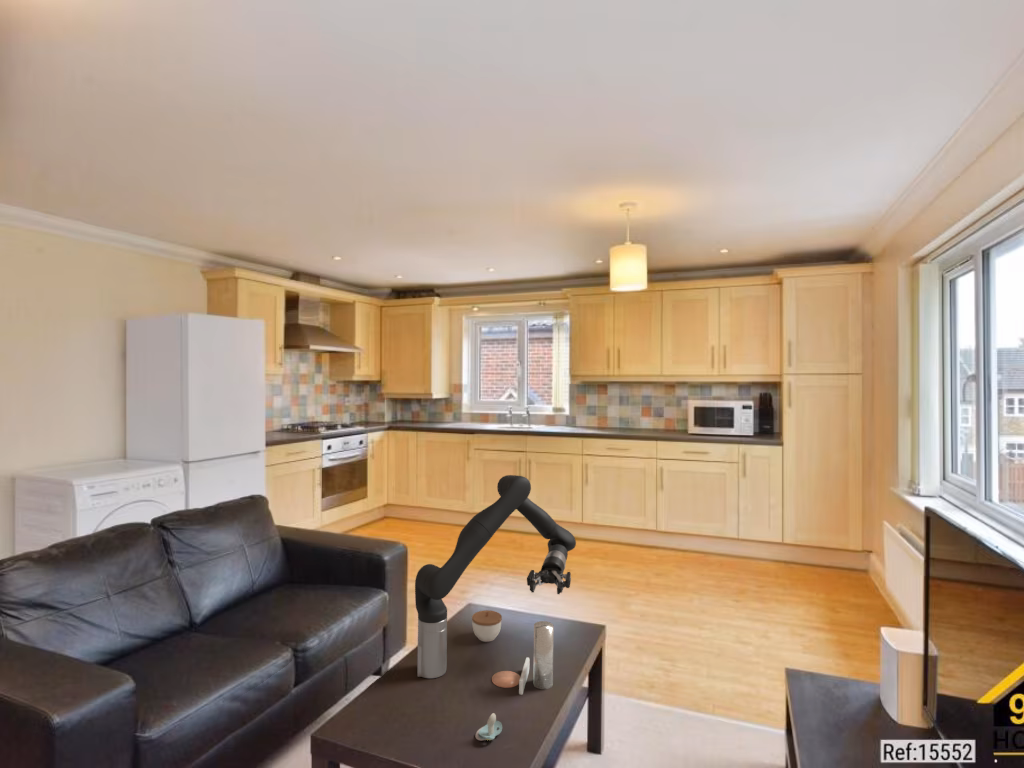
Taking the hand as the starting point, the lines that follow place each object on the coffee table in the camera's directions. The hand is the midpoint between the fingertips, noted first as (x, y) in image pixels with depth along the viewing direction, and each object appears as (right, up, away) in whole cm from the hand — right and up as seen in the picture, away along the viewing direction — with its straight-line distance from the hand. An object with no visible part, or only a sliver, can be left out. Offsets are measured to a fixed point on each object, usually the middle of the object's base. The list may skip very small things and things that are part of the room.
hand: (545, 590), depth 175 cm
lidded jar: (-20, -25, +22) cm, 39 cm away
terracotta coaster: (-12, -25, -6) cm, 29 cm away
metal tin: (-1, -26, -8) cm, 27 cm away
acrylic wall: (-7, -26, -7) cm, 27 cm away
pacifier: (-17, -26, -32) cm, 45 cm away
